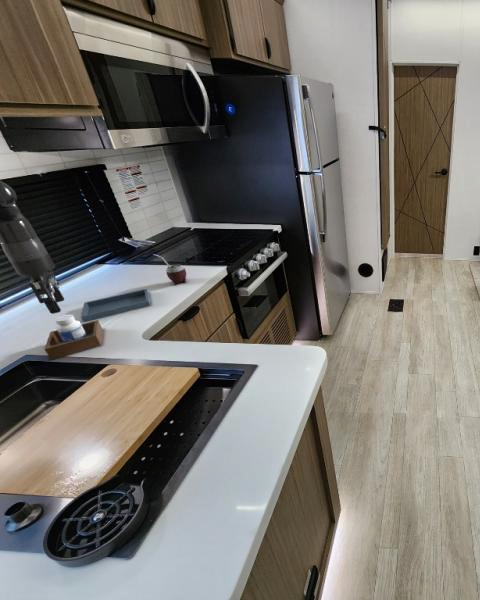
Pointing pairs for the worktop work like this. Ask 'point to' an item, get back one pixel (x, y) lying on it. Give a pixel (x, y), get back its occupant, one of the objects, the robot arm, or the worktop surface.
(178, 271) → the mate gourd
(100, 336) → the basket
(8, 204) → the robot arm
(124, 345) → the worktop surface
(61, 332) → the pill bottle
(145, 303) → the tray
